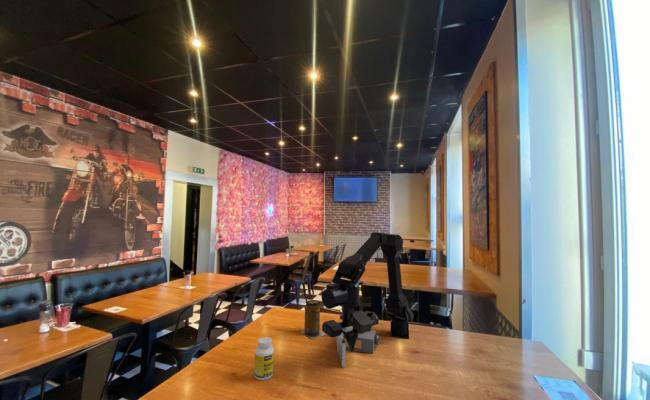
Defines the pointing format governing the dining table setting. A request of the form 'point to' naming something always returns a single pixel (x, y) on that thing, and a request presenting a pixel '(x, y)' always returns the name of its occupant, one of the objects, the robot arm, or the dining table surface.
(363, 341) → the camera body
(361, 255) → the robot arm
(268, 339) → the supplement bottle
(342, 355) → the side door
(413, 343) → the dining table surface
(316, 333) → the condiment
